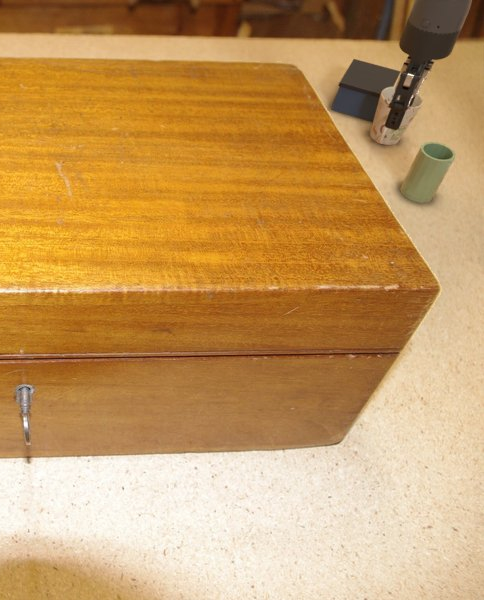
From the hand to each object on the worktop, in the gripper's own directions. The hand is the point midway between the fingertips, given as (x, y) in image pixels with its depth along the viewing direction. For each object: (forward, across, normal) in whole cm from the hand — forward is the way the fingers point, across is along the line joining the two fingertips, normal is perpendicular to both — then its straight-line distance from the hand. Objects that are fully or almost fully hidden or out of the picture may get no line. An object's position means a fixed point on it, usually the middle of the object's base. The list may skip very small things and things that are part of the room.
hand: (398, 116), depth 116 cm
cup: (+24, +18, -7) cm, 31 cm away
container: (+23, +44, +12) cm, 51 cm away
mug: (+24, +32, +3) cm, 40 cm away
